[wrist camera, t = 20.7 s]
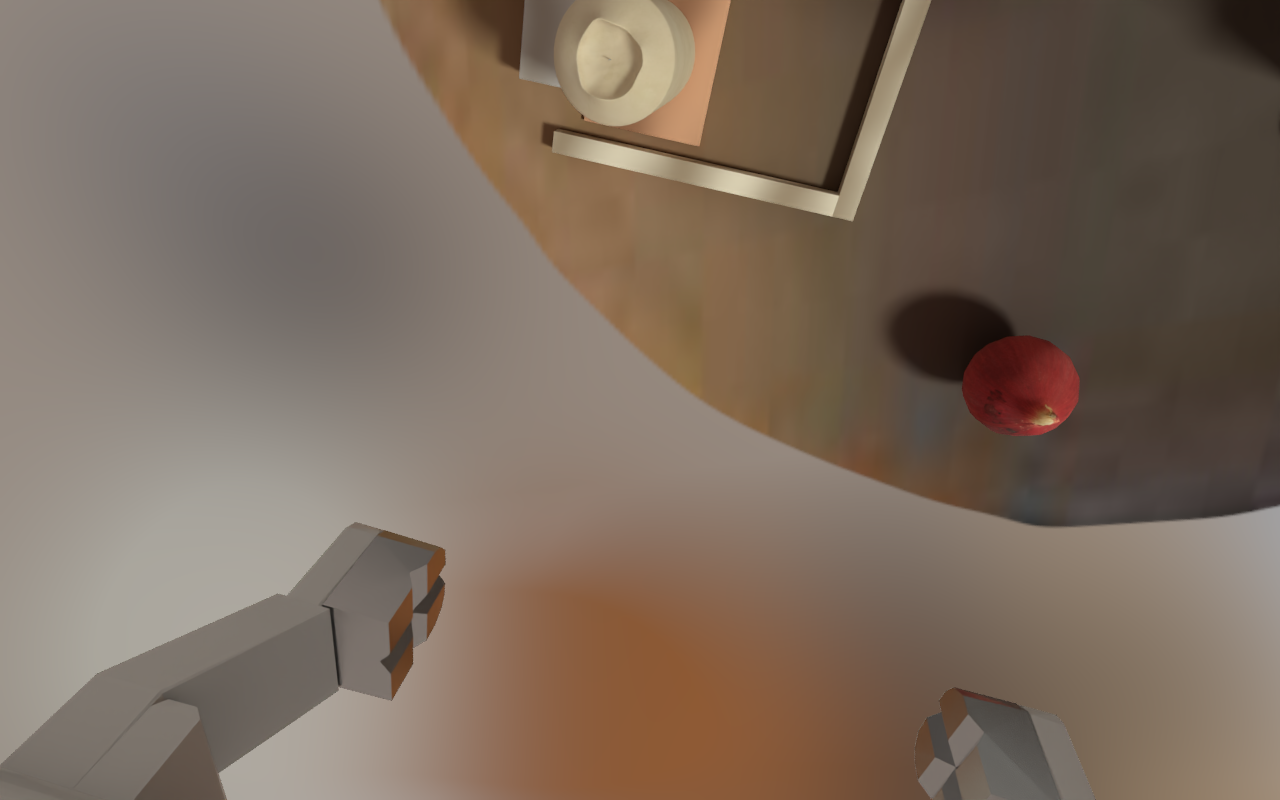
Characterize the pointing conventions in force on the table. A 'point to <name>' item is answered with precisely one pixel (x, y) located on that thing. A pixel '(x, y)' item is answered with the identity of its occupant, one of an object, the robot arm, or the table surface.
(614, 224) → the table surface
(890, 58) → the beige frame
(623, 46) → the candle
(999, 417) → the onion
